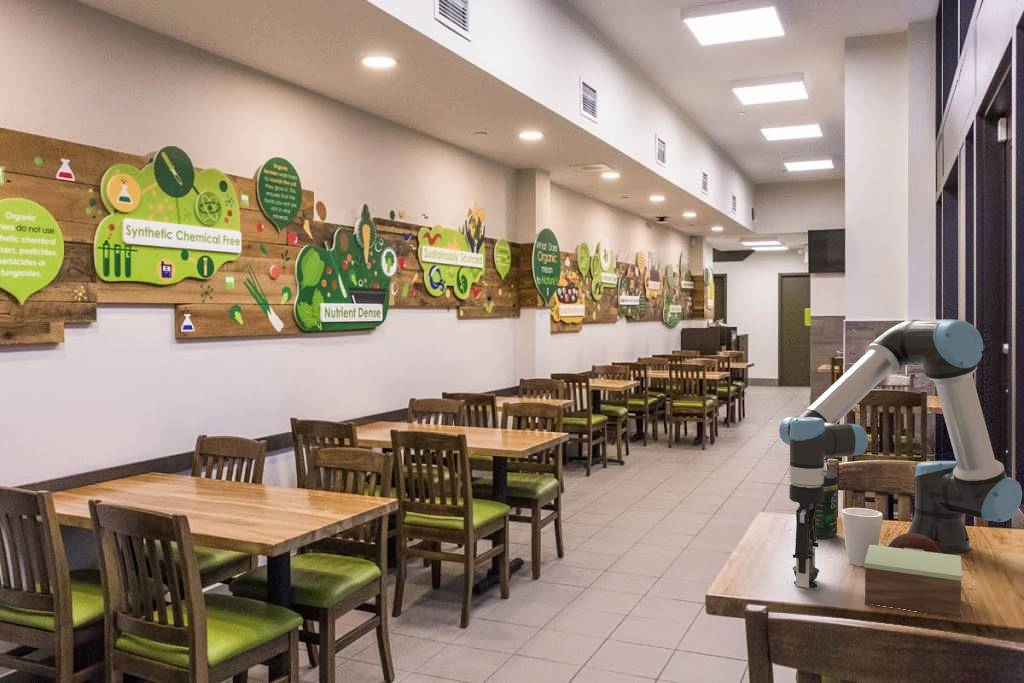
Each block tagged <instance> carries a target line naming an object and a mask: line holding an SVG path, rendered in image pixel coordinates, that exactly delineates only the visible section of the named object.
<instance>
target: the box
mask: <svg viewBox="0 0 1024 683" xmlns="http://www.w3.org/2000/svg"><path fill="white" fill-rule="evenodd" d="M864 568H865V567H864ZM864 574H865V575H864V576H865V577H864V587H865V588H864V605H867V604H873V605H880V606H886V607H893V608H900V609H906V610H911V611H917V612H921V613H920V614H924V613H927V614H926V615H930V614H933V615H932V616H936V615H937V616H938V617H942V616H943V617H944V618H949V617H950V618H951V619H955V618H960V619H959V620H961V617H962V616H961V615H962V612H961V609H962V607H961V606H962V603H961V602H962V581H959V580H952V579H945V578H938V577H930V576H923V575H916V574H909V573H901V572H894V571H887V570H880V569H873V568H865V569H864ZM873 605H872V606H873ZM880 606H879V607H880ZM886 607H885V608H886ZM911 611H910V612H911ZM917 612H916V613H917ZM943 617H942V618H943Z"/></svg>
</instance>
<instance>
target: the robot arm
mask: <svg viewBox="0 0 1024 683" xmlns="http://www.w3.org/2000/svg"><path fill="white" fill-rule="evenodd" d="M983 351H984V342H983V338H982V335H981V333H980V332H979V330H978V329H977V328H976V327H975V326H974V325H973V324H972V323H969V322H968V321H966V320H963V319H961V320H960V319H954V318H953V319H952V318H945V319H910V320H905V321H903V322H900V323H898V324H896V325H894V326H892V327H890V328H889V329H888V330H886V331H885V332H883V333H881V334H880V335H879V336H878V337H876V338H875V339H874V340H873V341H872V342H871V343H870V344H868V345H867V346H866V348H865V352H864V353H865V354H864V355H862V356H861V357H860V358H859V360H857V361H856V362H855V363H854V364H853V365H852V366H851V367H850V368H849V369H848V370H846V372H844V373H843V375H841V376H840V377H839V378H838V379H837V380H836V381H835V382H834V383H833V384H832V385H831V386H829V387H828V389H827V390H825V391H824V392H823V393H822V394H821V395H820V396H819V397H818V398H817V399H816V400H815V401H814V402H813V403H811V404H810V405H809V407H807V408H806V409H805V410H804V411H803V412H802V413H801V414H800V415H799V416H788V417H785V418H784V419H783V420H782V421H781V423H780V425H779V428H778V433H779V438H780V439H781V442H783V443H784V444H785V445H788V446H789V472H788V473H789V474H788V475H789V478H788V479H789V482H790V484H789V491H788V492H789V495H788V496H789V497H788V498H789V500H790V501H792V502H793V503H798V504H799V506H798V508H797V509H796V511H795V512H796V513H795V518H796V521H795V522H796V525H795V526H796V527H795V528H796V530H795V547H794V548H795V549H794V554H792V558H793V559H795V564H796V565H795V566H796V576H795V581H796V585H795V586H796V587H798V586H799V588H802V587H806V588H805V589H810V588H809V556H808V553H809V540H810V539H812V541H813V553H814V555H813V565H814V567H815V568H816V548H819V546H820V545H819V542H817V540H818V538H816V504H819V503H822V502H823V501H824V487H823V486H822V484H823V483H824V476H826V475H827V472H825V471H823V470H825V461H826V460H825V459H826V458H827V459H828V458H838V457H840V458H841V457H843V458H844V457H849V458H850V457H854V456H859V455H861V454H862V455H863V454H864V453H865V452H866V451H867V449H868V447H869V446H868V445H869V437H868V433H867V432H866V430H865V428H864V427H862V426H861V425H860V424H856V423H844V424H842V423H841V424H840V423H838V422H840V421H841V420H842V419H843V418H845V416H846V415H847V414H848V413H850V411H851V410H852V409H854V407H856V405H857V404H859V403H860V402H861V401H862V400H863V399H864V398H865V397H866V396H867V395H868V394H869V393H870V392H871V391H872V390H874V388H876V387H877V386H878V384H880V383H881V382H882V381H883V380H884V379H885V378H886V377H887V376H888V375H893V374H896V373H897V372H898V371H899V370H900V369H901V368H903V367H907V366H910V365H917V366H920V365H921V366H923V367H922V368H923V370H924V374H925V377H926V378H927V379H928V380H931V381H932V382H934V385H935V388H936V393H937V396H938V400H939V403H940V407H941V410H942V415H943V418H944V422H945V424H946V428H947V433H948V437H949V439H950V443H951V446H952V451H953V454H954V458H955V460H933V461H931V460H930V461H928V460H927V461H922V462H918V463H917V464H916V466H915V471H914V472H915V475H914V515H913V519H912V521H911V523H910V526H909V530H908V531H907V533H917V534H921V535H924V536H927V537H928V538H930V539H932V540H933V541H934V542H935V544H936V545H937V546H938V547H939V549H940V551H941V552H942V553H963V552H968V551H970V549H971V540H970V537H969V534H968V531H967V528H966V525H965V522H964V515H967V516H971V517H974V518H975V517H976V518H979V519H983V520H984V521H986V522H987V521H990V522H991V521H992V522H995V523H1002V522H1003V523H1005V522H1007V521H1008V520H1010V519H1012V518H1013V517H1014V516H1015V514H1017V511H1018V510H1019V508H1020V506H1021V503H1022V500H1023V499H1022V497H1023V490H1022V486H1021V484H1020V482H1019V481H1017V480H1016V479H1014V478H1013V477H1009V476H1007V473H1006V470H1005V466H1004V464H1003V463H1002V462H1000V461H999V460H997V459H995V454H994V451H993V448H992V444H991V439H990V436H989V432H988V429H987V428H988V427H987V425H986V424H987V423H986V421H985V416H984V414H983V413H984V412H983V409H982V407H981V402H980V399H979V395H978V392H977V388H976V384H975V379H974V377H973V376H974V375H973V374H974V373H975V372H976V371H977V369H978V365H977V364H979V362H980V361H981V359H982V357H983V353H982V352H983ZM800 552H803V553H800Z"/></svg>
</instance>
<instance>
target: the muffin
mask: <svg viewBox="0 0 1024 683" xmlns="http://www.w3.org/2000/svg"><path fill="white" fill-rule="evenodd" d="M887 547H893V548H901V549H904V547H905V548H913V549H921V550H924V551H925V552H933V553H941V554H943V552H941V551H940V549H939V547H938V546H937V545H936V544H935V542H934V541H933V540H932V539H930V538H928V537H927V536H924V535H921V534H917V533H908V532H907V533H902V534H901V535H900V534H899V535H898V536H897V537H895V538H893V539H892V541H890V543H889V544H888V546H887Z"/></svg>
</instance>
